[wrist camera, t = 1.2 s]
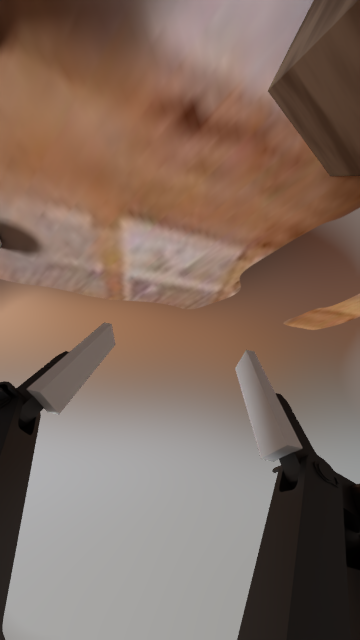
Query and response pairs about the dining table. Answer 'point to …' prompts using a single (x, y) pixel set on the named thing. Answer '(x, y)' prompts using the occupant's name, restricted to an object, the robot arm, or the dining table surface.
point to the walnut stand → (325, 84)
